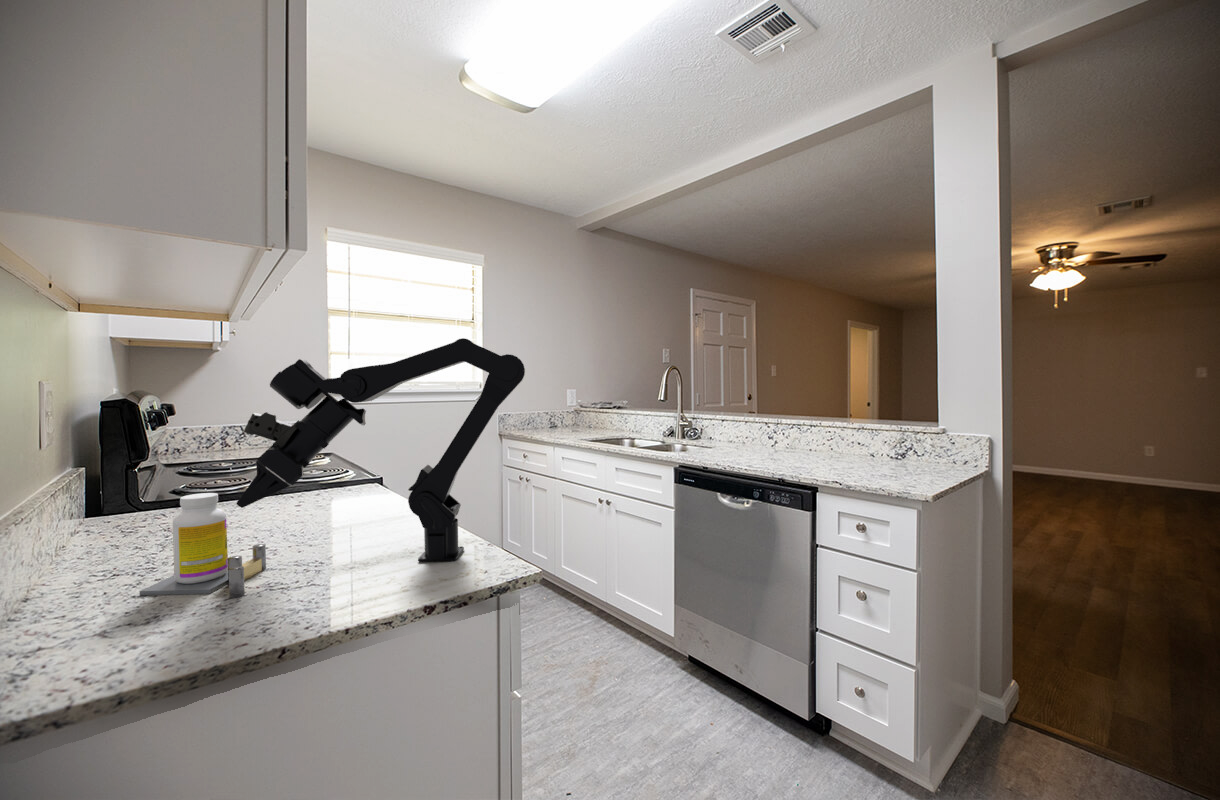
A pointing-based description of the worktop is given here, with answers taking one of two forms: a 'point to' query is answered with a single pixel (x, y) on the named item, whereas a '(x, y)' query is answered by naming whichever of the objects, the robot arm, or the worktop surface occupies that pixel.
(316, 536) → the worktop surface
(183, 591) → the slate coaster
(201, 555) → the supplement bottle
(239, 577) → the bent rail
